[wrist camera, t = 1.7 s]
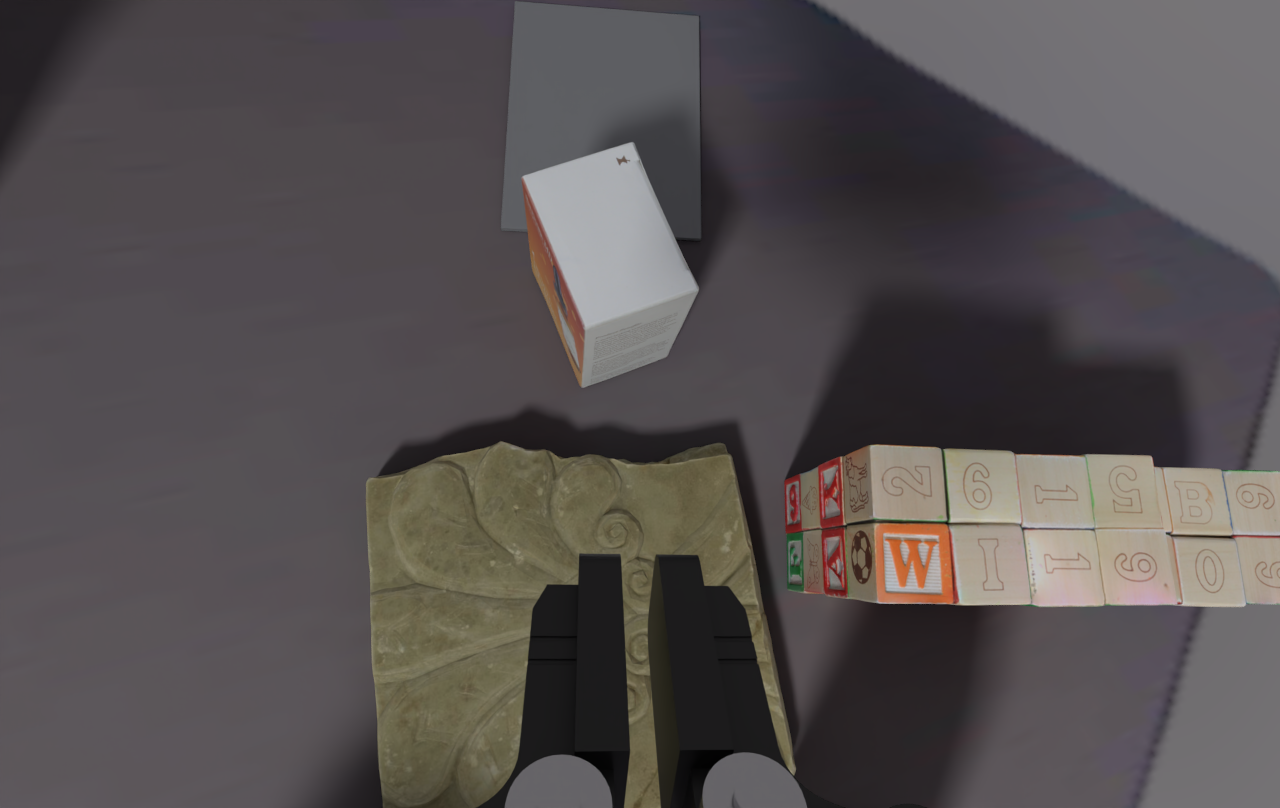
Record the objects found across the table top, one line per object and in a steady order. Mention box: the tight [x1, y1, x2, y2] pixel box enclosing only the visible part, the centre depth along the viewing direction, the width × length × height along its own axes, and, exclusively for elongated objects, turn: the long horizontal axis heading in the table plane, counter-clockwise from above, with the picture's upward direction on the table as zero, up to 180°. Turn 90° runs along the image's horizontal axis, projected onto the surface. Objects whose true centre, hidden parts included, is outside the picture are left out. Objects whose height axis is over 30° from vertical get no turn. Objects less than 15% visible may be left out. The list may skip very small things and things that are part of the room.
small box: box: [521, 142, 699, 388], centre depth 36 cm, size 8×6×10 cm
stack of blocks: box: [785, 444, 1280, 607], centre depth 34 cm, size 21×6×12 cm, turn 89°
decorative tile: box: [366, 441, 796, 808], centre depth 36 cm, size 19×20×4 cm
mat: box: [501, 1, 701, 241], centre depth 44 cm, size 12×16×1 cm
